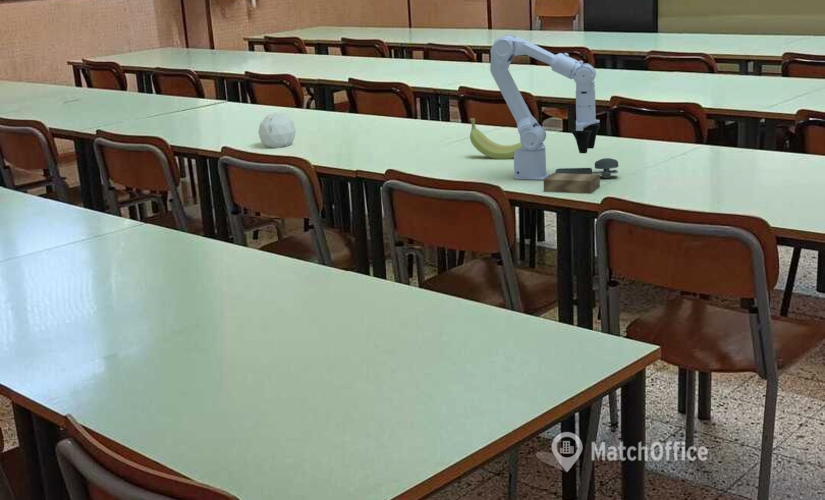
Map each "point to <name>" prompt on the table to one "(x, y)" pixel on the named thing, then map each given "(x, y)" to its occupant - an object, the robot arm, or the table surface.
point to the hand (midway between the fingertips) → (586, 150)
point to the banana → (491, 145)
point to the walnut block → (571, 183)
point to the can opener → (600, 164)
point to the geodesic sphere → (277, 131)
